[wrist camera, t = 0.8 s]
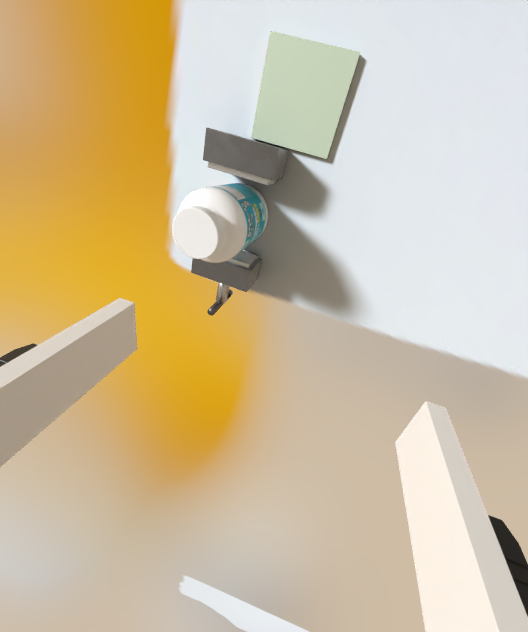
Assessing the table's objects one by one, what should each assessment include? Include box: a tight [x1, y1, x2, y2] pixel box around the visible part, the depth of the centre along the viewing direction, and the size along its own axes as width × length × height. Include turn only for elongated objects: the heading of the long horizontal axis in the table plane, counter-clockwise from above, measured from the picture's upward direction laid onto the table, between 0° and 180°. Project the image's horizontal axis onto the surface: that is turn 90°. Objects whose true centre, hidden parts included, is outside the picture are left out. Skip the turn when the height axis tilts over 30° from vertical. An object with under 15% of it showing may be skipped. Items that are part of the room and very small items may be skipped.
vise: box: [191, 128, 289, 315], centre depth 36 cm, size 21×8×7 cm, turn 165°
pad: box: [251, 31, 360, 159], centre depth 29 cm, size 9×9×1 cm
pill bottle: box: [172, 183, 268, 263], centre depth 31 cm, size 8×7×14 cm
